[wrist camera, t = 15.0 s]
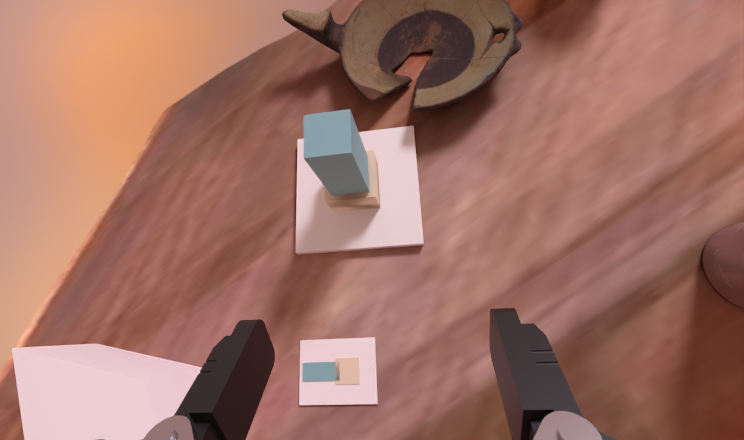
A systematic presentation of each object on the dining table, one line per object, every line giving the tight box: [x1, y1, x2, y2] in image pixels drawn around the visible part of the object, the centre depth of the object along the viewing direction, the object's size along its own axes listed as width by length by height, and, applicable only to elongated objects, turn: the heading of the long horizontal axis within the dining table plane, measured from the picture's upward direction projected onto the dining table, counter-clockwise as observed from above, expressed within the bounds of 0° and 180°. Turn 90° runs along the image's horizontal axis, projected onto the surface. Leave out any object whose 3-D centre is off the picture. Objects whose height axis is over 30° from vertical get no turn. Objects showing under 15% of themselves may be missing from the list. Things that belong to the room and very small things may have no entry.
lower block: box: [325, 150, 380, 212], centre depth 45 cm, size 6×6×4 cm
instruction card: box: [299, 337, 378, 405], centre depth 42 cm, size 9×7×1 cm
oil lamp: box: [282, 0, 523, 112], centre depth 49 cm, size 22×30×8 cm
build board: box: [295, 126, 424, 254], centre depth 47 cm, size 16×16×1 cm
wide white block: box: [12, 344, 202, 440], centre depth 38 cm, size 14×29×10 cm, turn 54°
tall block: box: [304, 109, 370, 196], centre depth 38 cm, size 4×4×10 cm
